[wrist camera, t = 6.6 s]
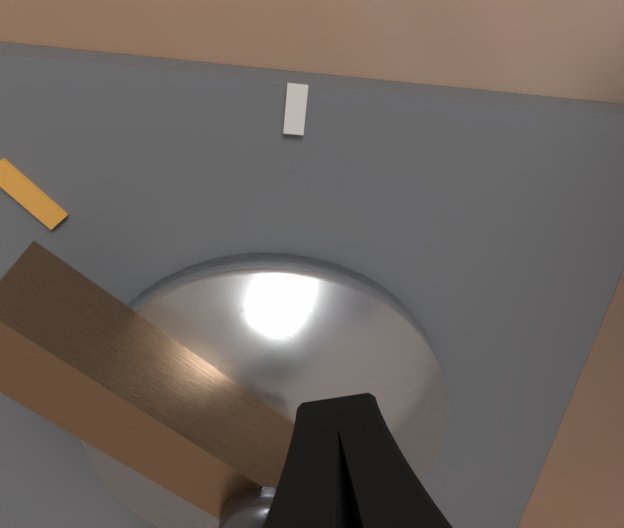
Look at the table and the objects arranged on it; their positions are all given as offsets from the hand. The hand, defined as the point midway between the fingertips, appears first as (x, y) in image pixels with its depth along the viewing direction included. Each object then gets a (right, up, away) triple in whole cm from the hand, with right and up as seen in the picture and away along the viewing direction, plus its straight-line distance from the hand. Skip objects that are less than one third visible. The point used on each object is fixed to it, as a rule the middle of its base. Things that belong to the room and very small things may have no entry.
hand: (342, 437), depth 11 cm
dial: (-3, 0, +7) cm, 8 cm away
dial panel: (-2, 0, +9) cm, 10 cm away
